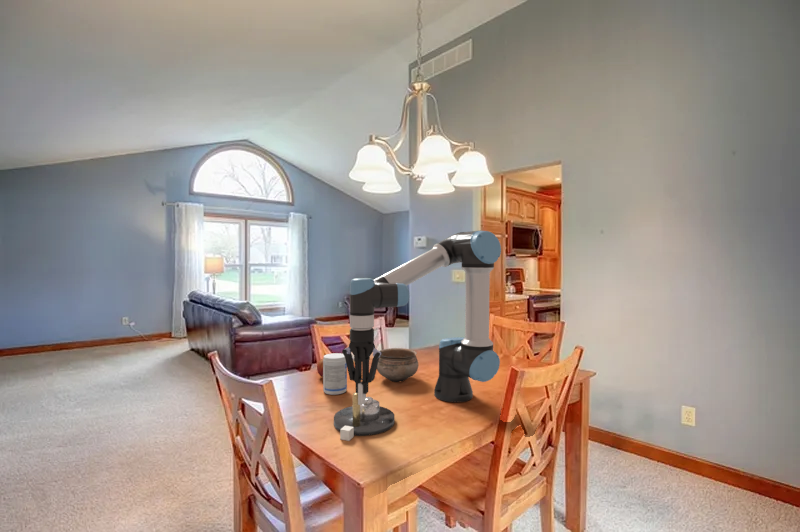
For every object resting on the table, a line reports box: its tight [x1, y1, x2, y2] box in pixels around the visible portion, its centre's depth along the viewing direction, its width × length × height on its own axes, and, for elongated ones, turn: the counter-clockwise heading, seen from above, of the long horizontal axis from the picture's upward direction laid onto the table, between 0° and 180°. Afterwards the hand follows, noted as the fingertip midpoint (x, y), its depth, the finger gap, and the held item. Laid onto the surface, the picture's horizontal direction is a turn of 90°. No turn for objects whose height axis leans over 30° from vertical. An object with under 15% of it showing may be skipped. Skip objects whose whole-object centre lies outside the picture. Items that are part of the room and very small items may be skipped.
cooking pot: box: [376, 347, 419, 383], centre depth 178 cm, size 25×19×12 cm
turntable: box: [333, 391, 395, 437], centre depth 132 cm, size 20×20×12 cm
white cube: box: [339, 426, 355, 442], centre depth 121 cm, size 3×3×3 cm
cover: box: [360, 396, 381, 422], centre depth 132 cm, size 8×8×6 cm
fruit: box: [316, 358, 323, 378], centre depth 180 cm, size 11×10×10 cm
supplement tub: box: [322, 352, 348, 396], centre depth 162 cm, size 10×10×15 cm
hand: (362, 403), depth 124 cm, fingers closed
